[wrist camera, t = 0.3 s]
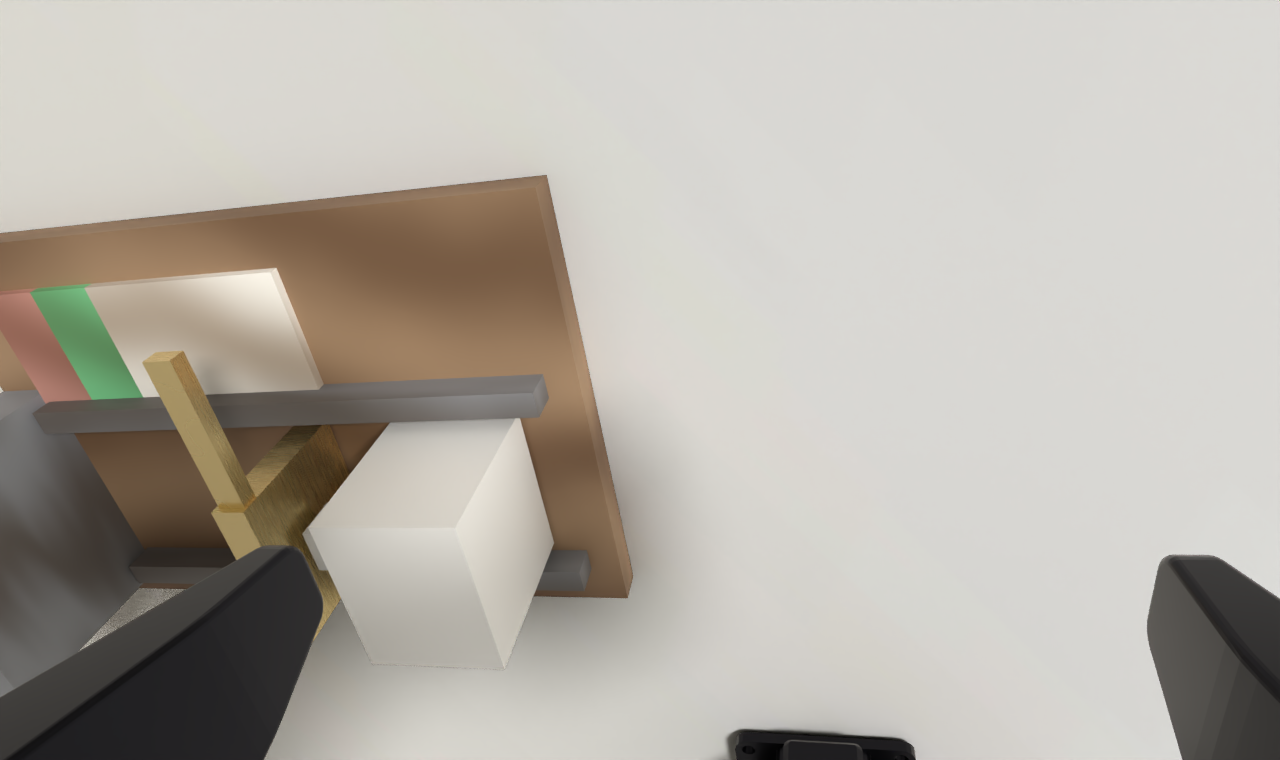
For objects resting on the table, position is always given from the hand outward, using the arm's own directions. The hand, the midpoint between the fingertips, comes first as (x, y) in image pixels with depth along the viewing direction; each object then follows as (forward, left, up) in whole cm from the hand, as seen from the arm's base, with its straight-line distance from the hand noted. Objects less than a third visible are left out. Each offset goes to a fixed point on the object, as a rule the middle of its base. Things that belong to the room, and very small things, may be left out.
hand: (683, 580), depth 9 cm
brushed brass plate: (-6, +14, -13) cm, 20 cm away
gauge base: (-6, +15, -14) cm, 21 cm away
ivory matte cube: (-8, +10, -13) cm, 18 cm away
